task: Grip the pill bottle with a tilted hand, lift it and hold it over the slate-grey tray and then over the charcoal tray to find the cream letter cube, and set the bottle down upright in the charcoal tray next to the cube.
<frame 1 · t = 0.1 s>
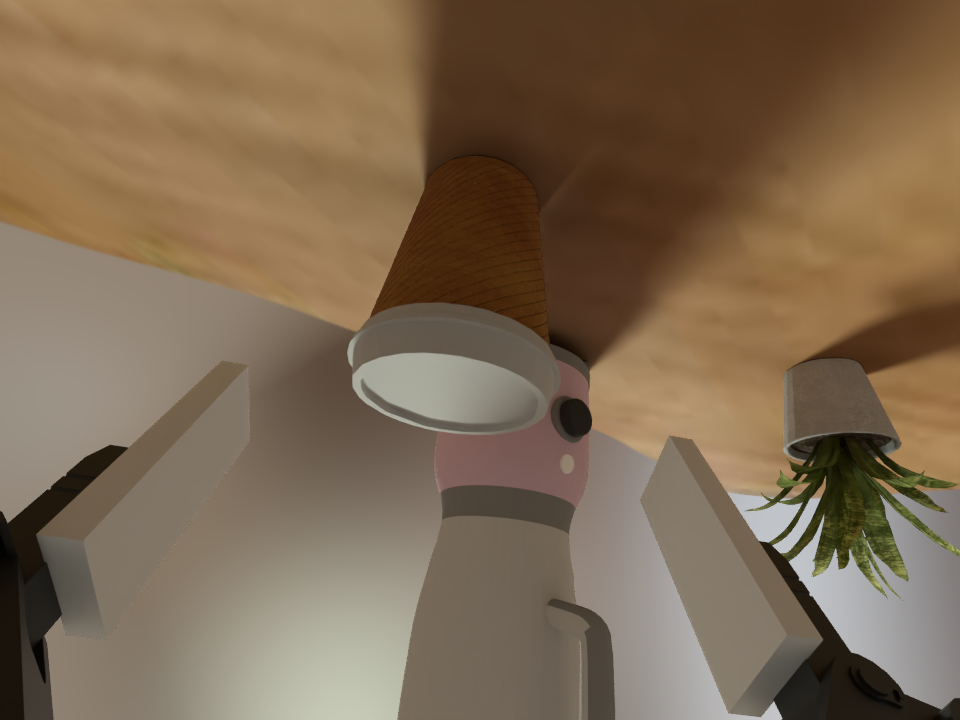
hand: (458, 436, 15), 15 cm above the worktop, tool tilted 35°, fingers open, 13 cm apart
blender: (532, 354, 42), on the worktop
disposable coffee cup: (481, 200, 27), on the worktop
house plant: (801, 371, 39), on the worktop
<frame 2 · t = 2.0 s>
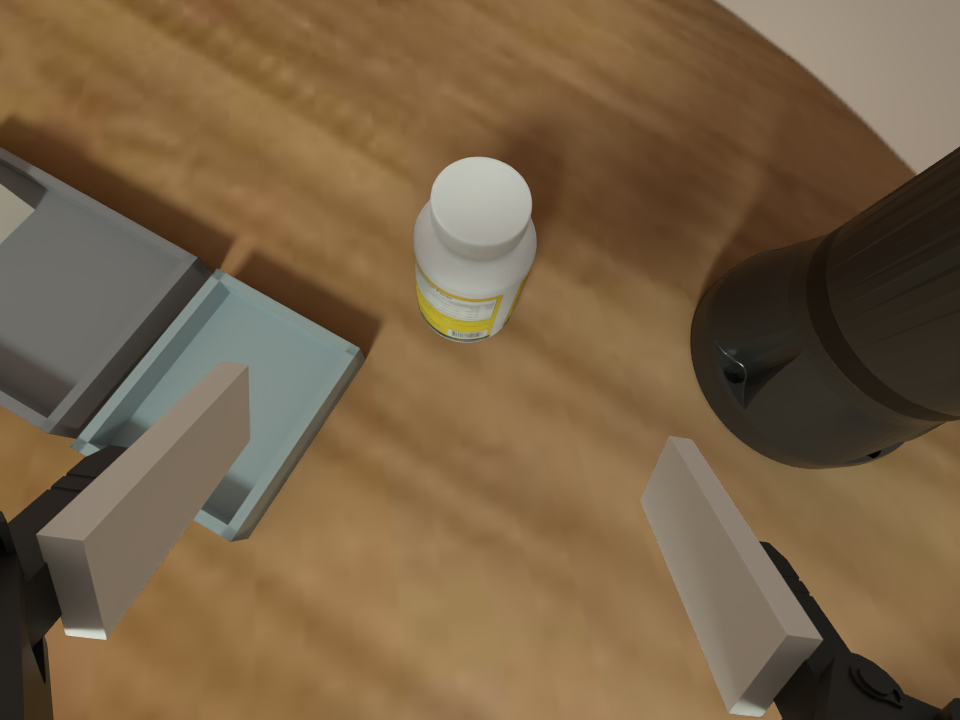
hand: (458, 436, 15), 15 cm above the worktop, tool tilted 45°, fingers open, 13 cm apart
slate tray: (240, 403, 29), on the worktop
charcoal tray: (30, 282, 30), on the worktop
pill bottle: (464, 302, 33), on the worktop
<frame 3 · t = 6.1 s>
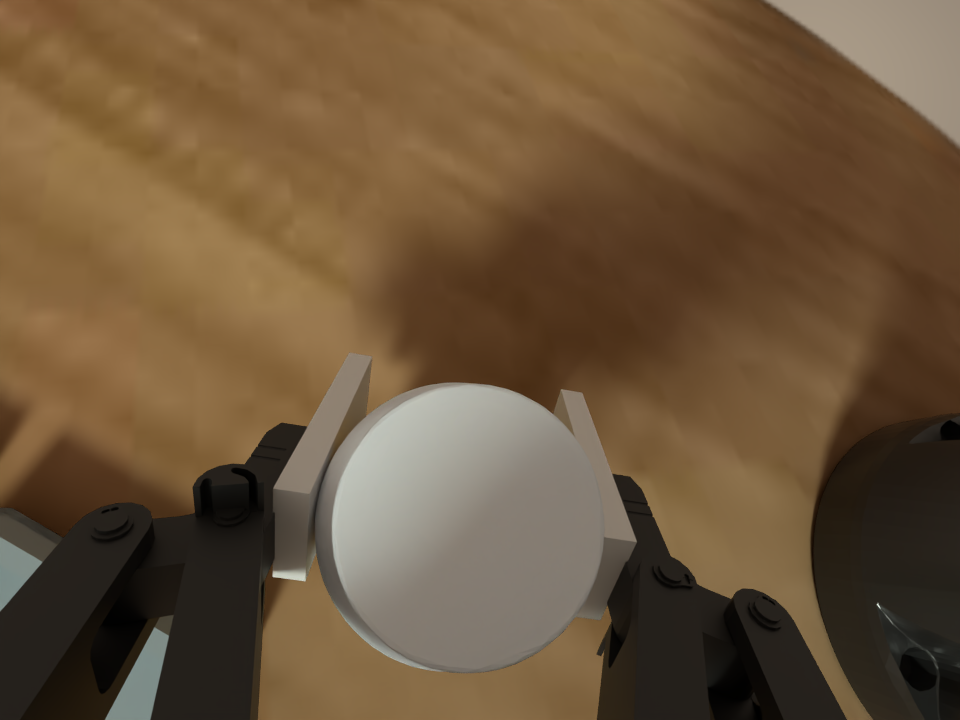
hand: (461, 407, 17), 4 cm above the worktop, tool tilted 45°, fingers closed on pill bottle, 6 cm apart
pill bottle: (438, 514, 19), on the worktop, touching gripper
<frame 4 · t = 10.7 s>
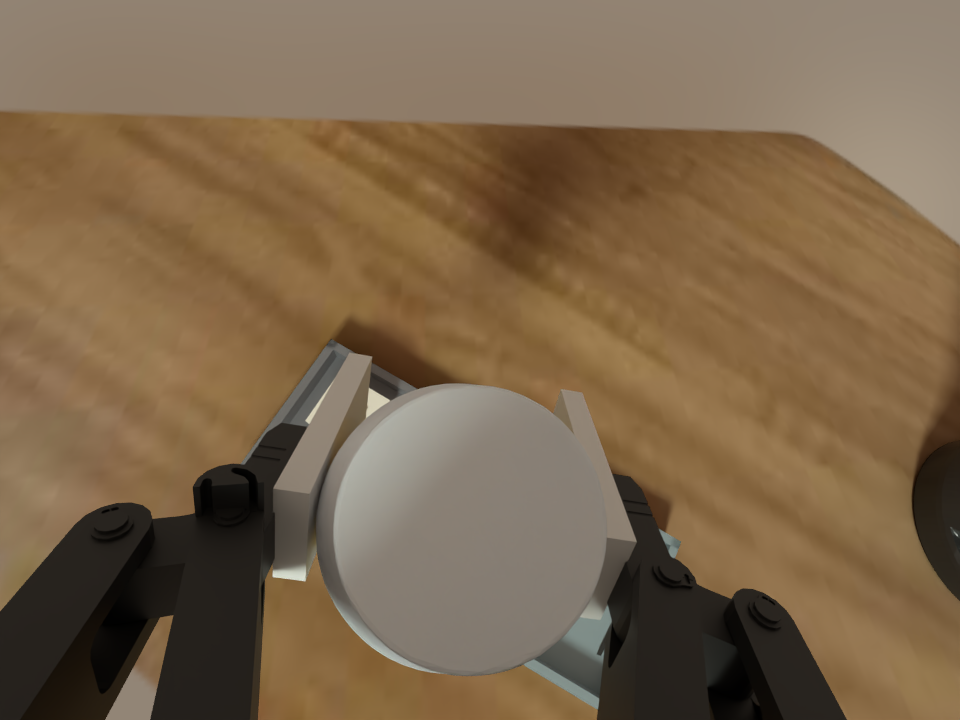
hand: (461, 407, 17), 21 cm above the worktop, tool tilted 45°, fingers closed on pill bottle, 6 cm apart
slate tray: (574, 582, 36), on the worktop
letter cube: (355, 420, 36), point 1 cm above the worktop, touching charcoal tray
charcoal tray: (393, 475, 36), on the worktop
pill bottle: (439, 515, 19), point 17 cm above the worktop, touching gripper
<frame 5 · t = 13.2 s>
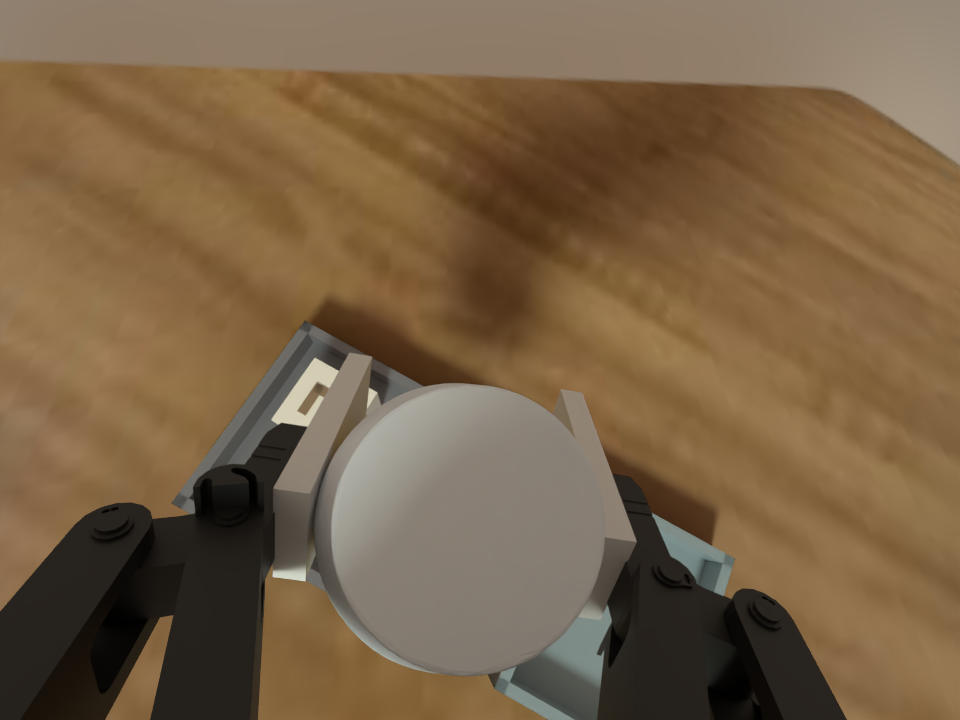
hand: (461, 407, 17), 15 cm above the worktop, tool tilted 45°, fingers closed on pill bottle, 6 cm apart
slate tray: (605, 610, 29), on the worktop
letter cube: (336, 419, 30), point 1 cm above the worktop, touching charcoal tray
charcoal tray: (383, 485, 30), on the worktop
pill bottle: (438, 515, 19), point 11 cm above the worktop, touching gripper
when the fingers open (6 cm above the worktop, at t = 15.4 s): pill bottle drops 1 cm, resting on charcoal tray.
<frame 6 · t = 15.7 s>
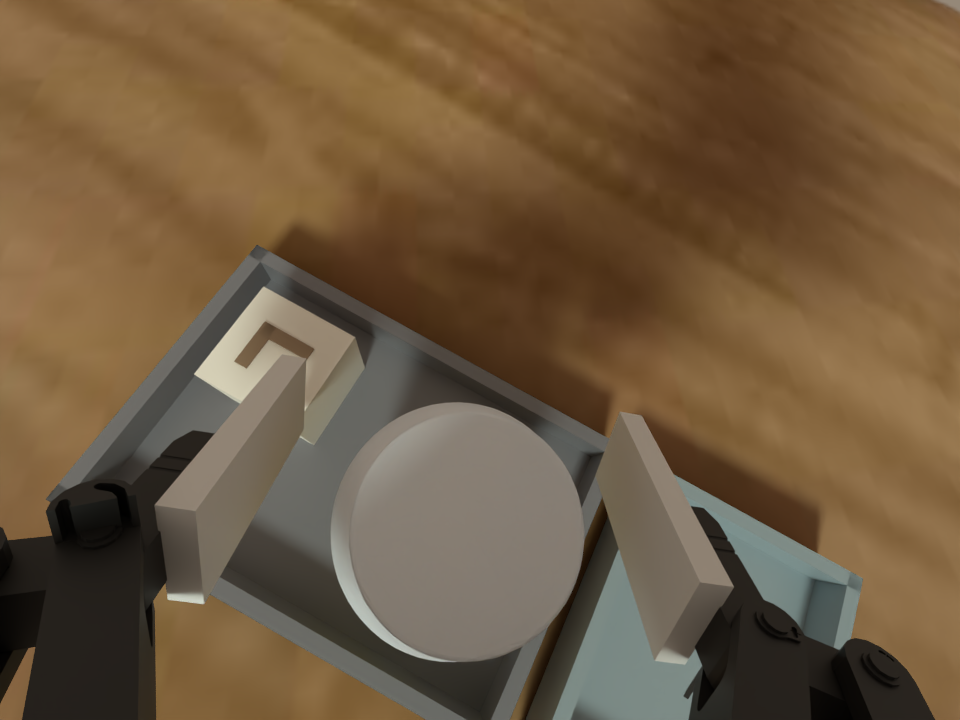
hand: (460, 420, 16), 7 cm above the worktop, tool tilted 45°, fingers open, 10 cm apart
slate tray: (678, 651, 21), on the worktop
letter cube: (301, 383, 21), point 1 cm above the worktop, touching charcoal tray
charcoal tray: (366, 475, 21), on the worktop
pill bottle: (440, 517, 21), point 1 cm above the worktop, touching charcoal tray
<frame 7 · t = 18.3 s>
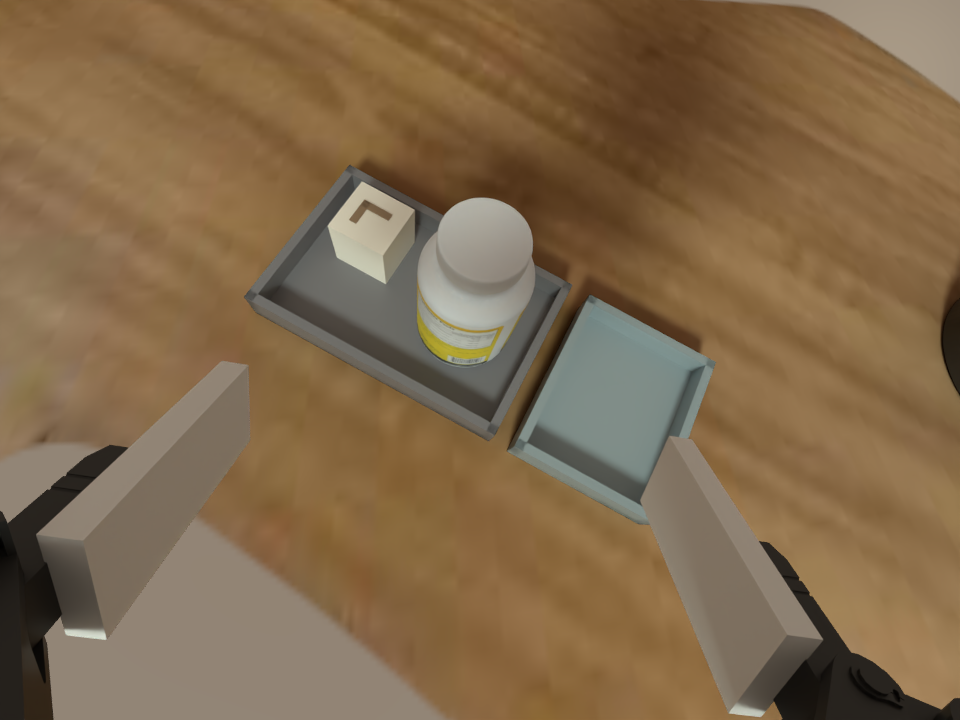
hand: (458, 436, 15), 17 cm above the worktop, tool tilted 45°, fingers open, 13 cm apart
slate tray: (606, 409, 34), on the worktop
letter cube: (376, 249, 35), point 1 cm above the worktop, touching charcoal tray
charcoal tray: (416, 305, 35), on the worktop
pill bottle: (462, 327, 34), point 1 cm above the worktop, touching charcoal tray
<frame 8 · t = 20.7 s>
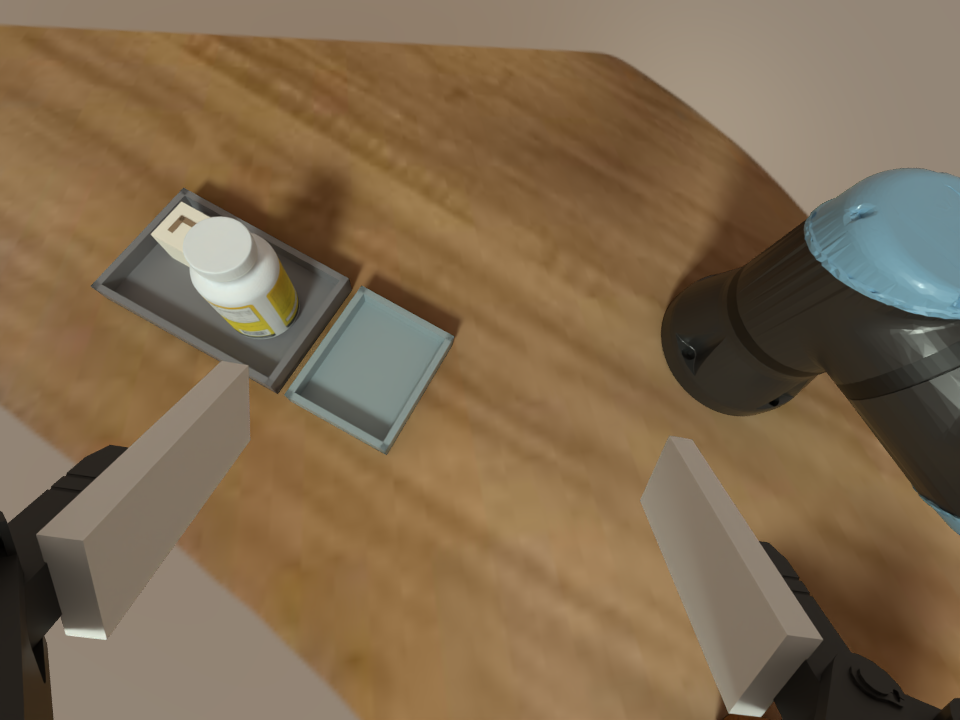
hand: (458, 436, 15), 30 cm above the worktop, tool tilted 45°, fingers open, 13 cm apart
slate tray: (374, 372, 46), on the worktop
letter cube: (204, 251, 46), point 1 cm above the worktop, touching charcoal tray
charcoal tray: (234, 294, 46), on the worktop
pill bottle: (265, 310, 45), point 1 cm above the worktop, touching charcoal tray
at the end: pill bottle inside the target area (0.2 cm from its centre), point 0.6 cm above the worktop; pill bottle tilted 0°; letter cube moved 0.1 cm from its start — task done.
